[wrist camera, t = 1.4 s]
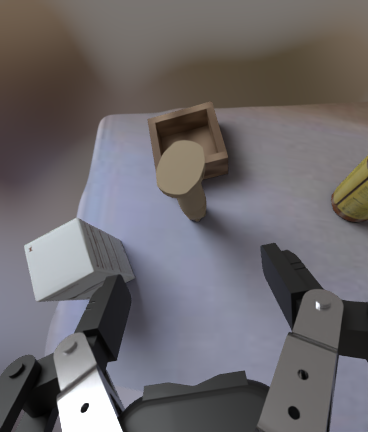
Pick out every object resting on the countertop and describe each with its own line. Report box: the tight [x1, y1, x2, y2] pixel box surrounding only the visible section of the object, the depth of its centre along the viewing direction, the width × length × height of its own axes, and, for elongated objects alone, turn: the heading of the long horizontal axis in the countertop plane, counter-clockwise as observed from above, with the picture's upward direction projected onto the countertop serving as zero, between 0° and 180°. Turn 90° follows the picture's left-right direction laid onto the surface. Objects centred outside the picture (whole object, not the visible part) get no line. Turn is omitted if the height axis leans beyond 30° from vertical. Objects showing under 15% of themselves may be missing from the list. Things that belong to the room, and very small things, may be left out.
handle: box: [156, 140, 206, 222], centre depth 30 cm, size 5×6×15 cm
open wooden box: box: [148, 102, 228, 179], centre depth 39 cm, size 11×11×5 cm
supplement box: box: [24, 218, 135, 302], centre depth 31 cm, size 7×7×13 cm
